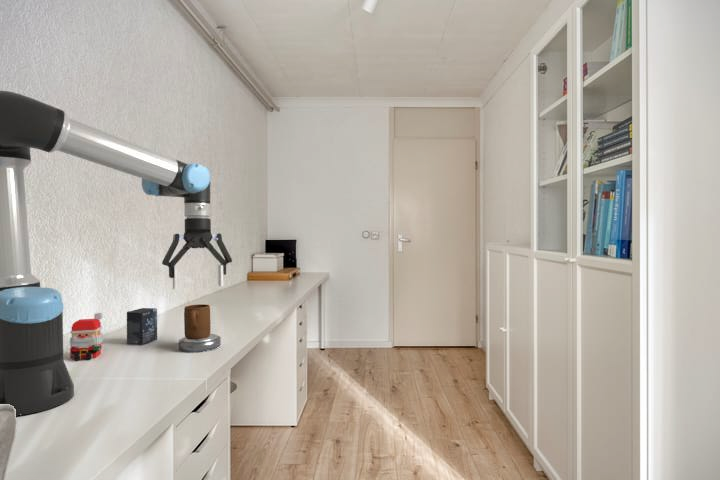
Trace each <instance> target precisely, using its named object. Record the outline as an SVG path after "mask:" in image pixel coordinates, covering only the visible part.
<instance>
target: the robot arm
mask: <svg viewBox="0 0 720 480" xmlns="http://www.w3.org/2000/svg"><path fill="white" fill-rule="evenodd" d="M31 149H35V150H38V151H39V150H40V151H43V152H46V153H49V154H51V153H52V152H55V151H56V152H57V151H58V152H61V153H63V154H64V153H65V154H67V155H70V156H73V157H76V158H79V159H82V160H85V161H88V162H90V163H95V164H97V165H100V166H104V167H105V168H106V167H107V168H110V169H112V170H115V171H119V172H121V173H125V174H128V175H130V176H134V177H137V178H139V179H141V187H142V191H143V192H144V193H145V194H146V195H147V196H155V197H170V198H171V197H172V198H183V201H184V202H183V203H184V204H183V206H184V208H183V211H184V217H186V218H185V219H184V232H183V234H179V233H173V236H172V242H171V244H170V246H169V247H168V250H167V252H166V254H165V256H164V257H163V259H162V262H161V265H163V266H167V267H168V277H169V278H170V279H172V289H173V290H178V288H179V287H178V283H179V282H178V267H177V266H176V265H177V264H178V263H179V261H180V260H181V259H182V258H183V257H184V256H185V254H186V253H187V252H188V251H189V250H190V249H205V248H206V249H207V250H208V251H209V253H211V255H212V256H213V257H214V258H215V259H216V260H217V261H218V262H219V264H218V265H217V279H218V282H217V283H218V285H217V286H219V287H224V276H225V275H227V265H228V264H230V263H232V262H233V260H232V259H233V258H232V257H231V255H230V253H229V251H228V249H227V247H226V245H225V243H224V241H223V239H222V238H223V237H222V234H221V233H214V234H212V230H211V228H212V225H211V224H212V223H211V222H212V221H211V218H210V217H211V175H210V170H209V168H207V167H205V166H204V165H203V164H201V163H193V162H192V163H185V162H183V161H181V160H178V159H175V158H172V157H169V156H167V155H165V154H162V153H159V152H157V151H155V150H151V149H149V148H146V147H143V146H141V145H139V144H137V143H135V142H132V141H128V140H127V139H124V138H121V137H119V136H116V135H114V134H111V133H109V132H106V131H103V130H100V129H98V128H96V127H93V126H92V125H91V126H90V125H88V124H85V123H82V122H81V121H78V120H76V119H74V118H73V119H72V118H70V117H69V116H68V114H67V113H66V111H65V110H63V109H60V108H57V107H55V106H52V105H50V104H47V103H45V102H42V101H40V100H38V99H35V98H32V97H29V96H26V95H23V94H20V93H17V92H15V91H14V92H13V91H7V90H0V404H10V405H12V406H14V408H15V409H16V416H15V417H18V415H20V414H26V415H30V413H31V414H35V412H36V413H39V412H43V411H47V410H51V409H53V408H56V407H59V406H61V405H63V404H65V403H68V402H69V401H70V400H71V399H73V397H74V396H75V386H74V385H75V384H74V382H73V379H72V378H71V374H70V373H69V370H68V368H67V366H66V363H65V361H64V325H63V324H64V323H63V322H64V320H63V319H64V317H63V316H64V314H63V313H64V312H63V311H64V303H63V298H62V297H63V296H62V294H61V293H60V292H59V290H58V289H54V288H51V287H41V280H40V278H38V277H36V276H35V275H33V273H32V268H31V266H32V265H31V255H30V254H31V253H30V241H29V228H28V214H27V201H26V186H25V185H26V184H25V175H24V173H25V172H24V171H25V169H26V168H27V167H28V166H30V165H31V163H32V159H31V156H32V155H31ZM182 239H183V240H184V242H185V244H183V246H182V247H181V249H179V251H178V252H177V254H176V255H175V256H174V257H173V255H174V253H175V251H176V249H177V247H178V245H179V242H181V241H182ZM212 239H213V240H214V241H215V242H216V244H217V246H218V248H219V250H220V251H221V254H222V255H221V254H220V252H218V251H217V249H216V248H215V247H214V246H213V244H212V243H211V241H212ZM172 257H173V258H172ZM58 405H59V406H58ZM55 406H56V407H55ZM20 416H21V415H20Z"/></svg>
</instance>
